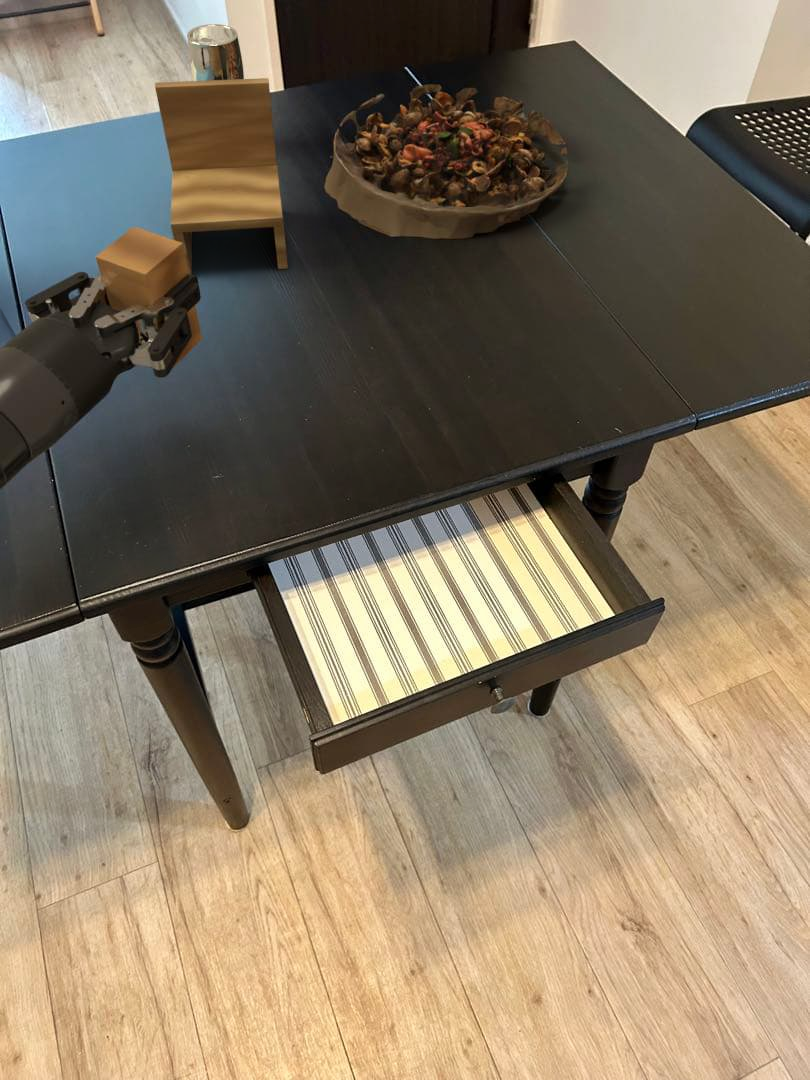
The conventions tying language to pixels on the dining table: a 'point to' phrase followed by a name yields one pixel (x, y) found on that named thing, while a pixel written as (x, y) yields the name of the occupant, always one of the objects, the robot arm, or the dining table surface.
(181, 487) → the dining table surface
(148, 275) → the kraft box
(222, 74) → the silver metal cylinder
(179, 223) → the miniature wooden chair
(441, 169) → the food dish
